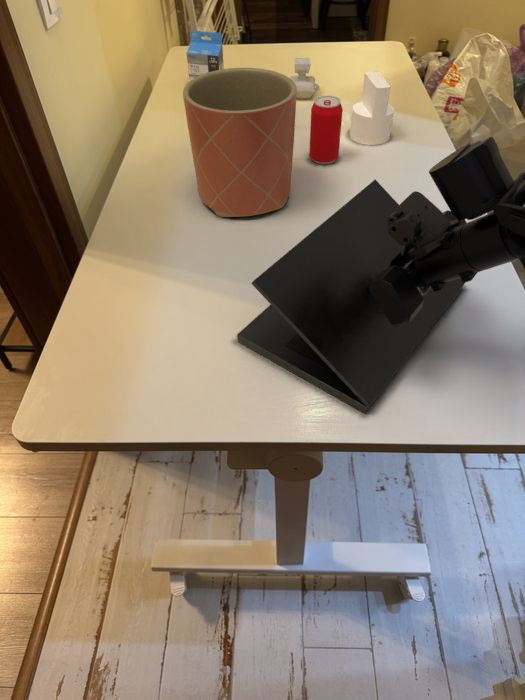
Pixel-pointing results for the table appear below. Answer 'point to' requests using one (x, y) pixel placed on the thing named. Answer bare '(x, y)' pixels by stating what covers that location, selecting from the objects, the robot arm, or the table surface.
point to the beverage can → (325, 129)
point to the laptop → (299, 354)
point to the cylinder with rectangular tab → (372, 112)
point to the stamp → (304, 78)
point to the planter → (242, 139)
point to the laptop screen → (350, 294)
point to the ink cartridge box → (204, 53)
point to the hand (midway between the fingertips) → (375, 283)
